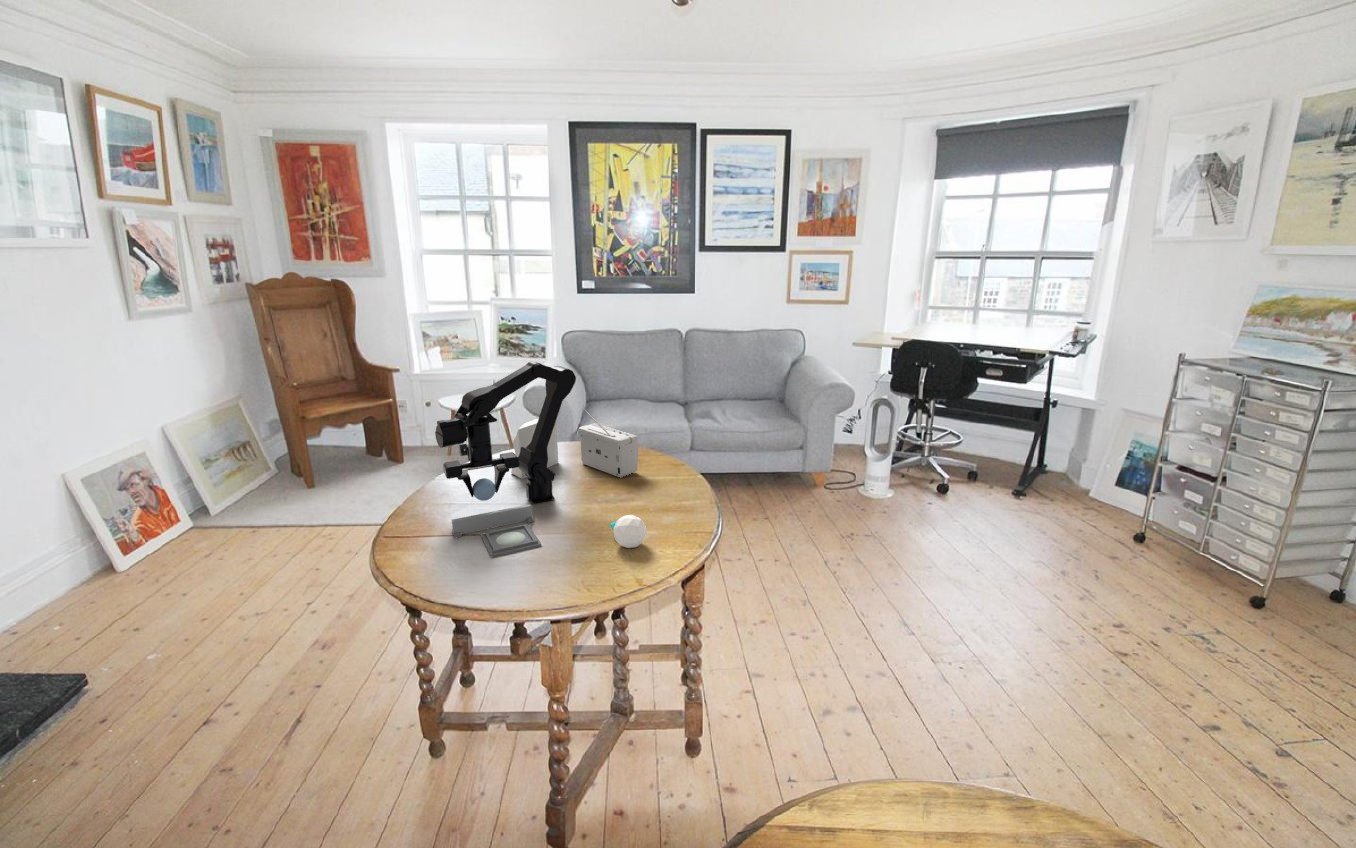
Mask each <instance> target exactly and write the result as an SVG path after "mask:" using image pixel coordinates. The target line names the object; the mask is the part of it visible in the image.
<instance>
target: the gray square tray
mask: <svg viewBox="0 0 1356 848" xmlns="http://www.w3.org/2000/svg"><path fill="white" fill-rule="evenodd" d="M480 537H481V538H482V541H483V543H484V545H485V548H486V550H487V552H488V553H489V556H490V558H495V557H496V558H497V557H501V556H505V555H508V554H513V553H517V552H522V551H526V550H530V549H534V548H539V547H542V542H541V541H540V539H539V538H538V536H537V534H535V532H534V531H533V529H532V528H531V526H530V525H529V523H528V524H527V523H524V524H520V525H516V526H509V527H506V528H501V529H496V530H492V531H487V532H484V533H481V534H480Z"/></svg>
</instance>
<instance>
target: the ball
mask: <svg viewBox="0 0 1356 848" xmlns="http://www.w3.org/2000/svg"><path fill="white" fill-rule="evenodd" d="M472 489H473V497H474V498H475V499H477V500H479V501H482V502H483V501H484V502H485V501H488V500H490V499H492V498H493V497H494V495H495V494H496V492H495V490H496V488H495V482H493V481H492V480H491V479H489V478H485V477H484V478H479V479H478V480H476V481H475V482H474V483H473V485H472Z"/></svg>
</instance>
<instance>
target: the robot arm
mask: <svg viewBox="0 0 1356 848" xmlns="http://www.w3.org/2000/svg"><path fill="white" fill-rule="evenodd" d="M538 378H539V379H543V380H545V393H546V395H545V398H544V400H543V403H542V408H541V410H540V414H539V417H538V418H537V419H538V422H537V425H536V428H535V431H534V434H533V437H532V440H531V443H530V444H529V445H528V446H527V447H526V448H525V447H523V446H522V447H521V449H520V454H519V456H518V457H517V456H516V455H515V452H513V451H510V452H504V453H500V454H499V457H498V458H493V450H492V449H493V447H492V439H491V437H492V436H491V427H490V424H491V423H496V422H498V419H497V418H496V417H495V416H493V415H492V414H491V412H492V411H494V410H495V409H496V407H498V405H499V403H500V402H501V401H503V399H505V398H506V397H507V398H508V396H510V395H511V394H513V393H515V392H516V391H518V390H520V389H522V388H523V387H525V386H527V385H528V384H530V383H531V382H533V381H535V380H537V379H538ZM576 380H577V376H576V375H575V372H574V371H573V370H571V369H570V368H567V367H563V366H560V365H554V366H547V365H545V364H543V363H540V362H538V361H535V360H534V361H533V360H531V361H529V362H527V363H526V364H525V365H523V366H521V367H520V368H519V369H518V368H517V369H516V370H515V371H513V372H512V373H510V374H508V375H506V376H505V377H503V378H501V379H499V380H498V381H496V382H494V383H493V384H491V385H488V386H484V387H480V388H476V389H473V390H471V391H468V392H466V393H465V394H464V395H463V396H462V399H461V405H460V406H459V407H458V410H457V411H456V412H455V414H454V418H450V419H440V420H437V421H436V427H435V432H434V435H435V439H436V443H437V445H438V447H439V448H440V449H442V448H447V447H454V446H458V449H459V456H460V457H463V456H464V457H465V456H467V461H468V462H465V463H461V462H460V461H459V460H458V459H457V460H451V461H446V462H444V463H443V465H442V468H443V474H444V476H445V478H446V479H447V480H448V479H449V480H450V479H455V478H456V479H457V480H458V481H461V480H462V481H463V483H464V485H465V486H466V488H467V490H468V492H469V494H470V497H471V498H474V495H473V489H472V488H473V485H472V480H471V476H470V474H469V473H468V471H474V470H480V469H484V468H491V467H493V469H494V485H495V488H496V490H495V494H497V493H498V492H499V489H500V487H501V484H502V481H503V479H504V477H505V475H506V473H508V472H510V469H511V470H512V468H517V467H519V469H520V470H521V471H522V472H524V473H525V475H526V476H528V477H526V478H527V483H526V484H525V493H526V498H527V499H528V500H529V501H530V502H531V503H532V504H539V503H544V502H549V501H553V500H555V497H554V495H553V481H554V480H555V476H556V473H555V472H553V470H551V469H549V467H548V468H547V463H548V453H547V447H548V444H549V441H550V438H551V435H552V432H553V429H554V426H555V422H556V423H557V419H558V416H559V413H560V410H561V408H562V404H563V401H564V399H566V398H567V396H568V395H570V393H571V392H572V390H573V388H574V386H575V383H576ZM465 442H467V443H468V444H467V443H465Z"/></svg>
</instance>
